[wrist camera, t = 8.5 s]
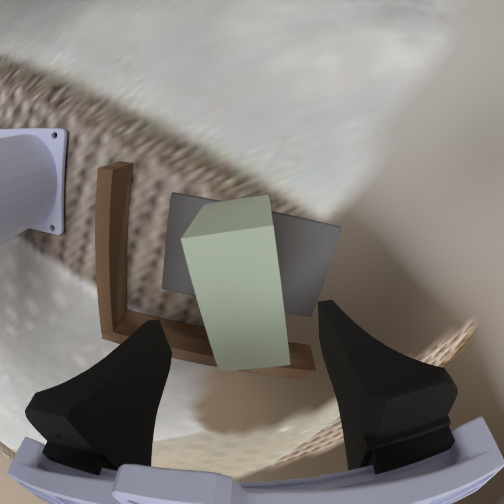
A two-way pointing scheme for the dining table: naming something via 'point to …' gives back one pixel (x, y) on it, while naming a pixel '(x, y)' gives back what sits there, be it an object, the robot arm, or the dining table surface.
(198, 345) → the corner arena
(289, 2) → the dining table surface
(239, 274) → the sage block
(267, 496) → the robot arm
